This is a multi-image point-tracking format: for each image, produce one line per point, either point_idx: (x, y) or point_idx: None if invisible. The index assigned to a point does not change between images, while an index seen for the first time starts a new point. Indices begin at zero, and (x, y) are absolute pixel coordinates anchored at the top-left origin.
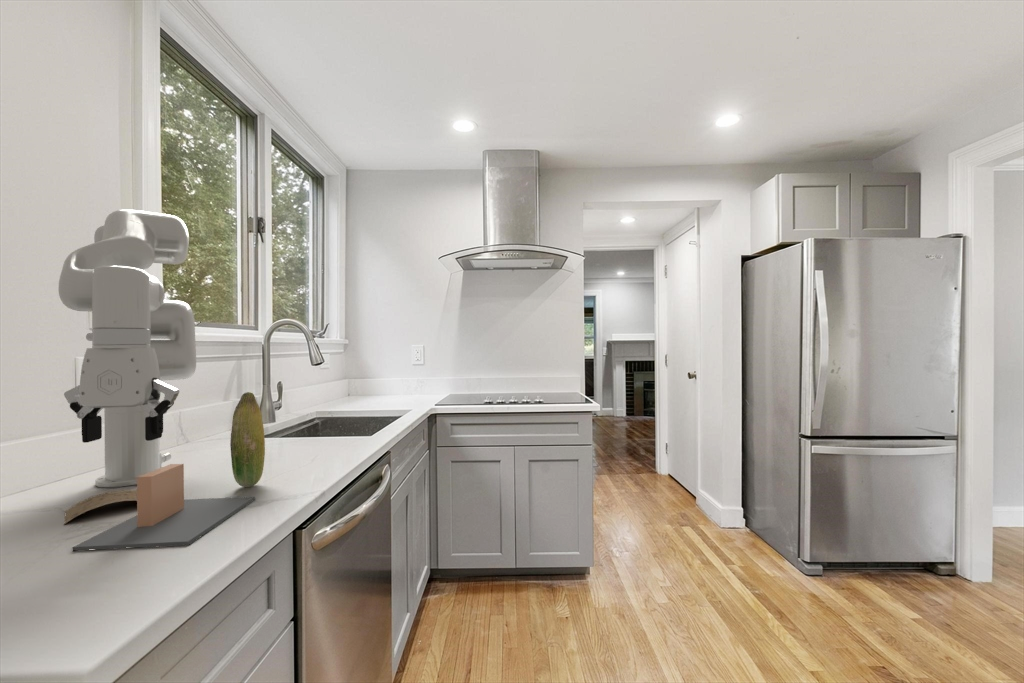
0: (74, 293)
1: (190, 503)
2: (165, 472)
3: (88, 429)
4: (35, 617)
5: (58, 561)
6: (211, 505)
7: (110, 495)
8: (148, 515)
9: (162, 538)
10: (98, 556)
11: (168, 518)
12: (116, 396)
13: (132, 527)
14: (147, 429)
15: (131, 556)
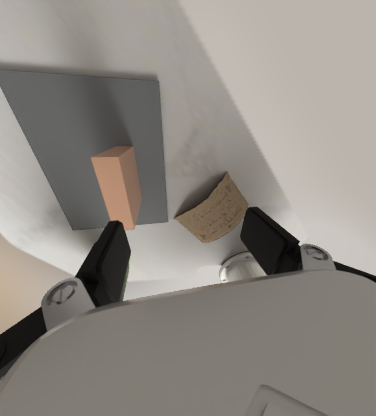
0: None
1: None
2: (103, 192)
3: (262, 226)
4: None
5: (148, 44)
6: (101, 206)
7: (221, 221)
8: (116, 147)
9: (53, 92)
10: (106, 52)
11: None
12: (200, 380)
13: (137, 144)
14: (104, 238)
15: (52, 38)
